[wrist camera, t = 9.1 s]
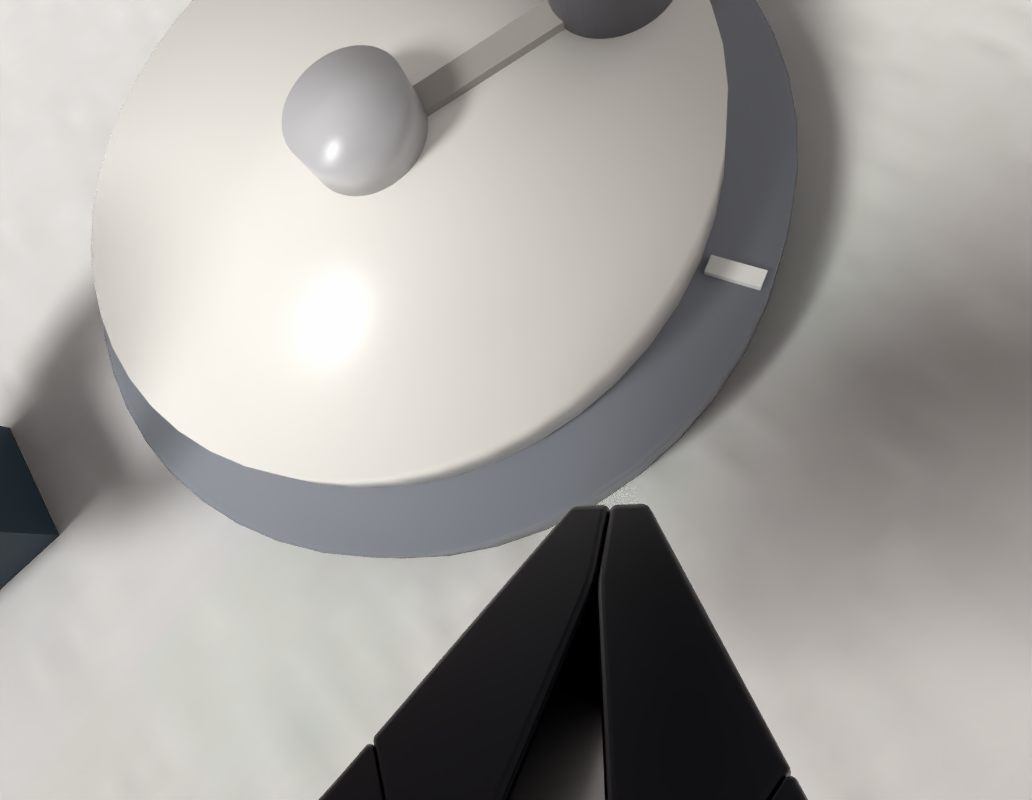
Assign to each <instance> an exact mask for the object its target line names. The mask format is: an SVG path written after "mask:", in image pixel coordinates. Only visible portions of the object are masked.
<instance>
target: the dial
mask: <svg viewBox="0 0 1032 800" xmlns="http://www.w3.org/2000/svg"><path fill="white" fill-rule="evenodd" d="M727 99H728V83H727V74H726V66H725V57H724V49H723V42H722V39H721V36H720V32H719V29H718V25H717V22H716V19H715V15H714V12H713V8H712V5H711V3H710V1H709V0H193V1H192V2H191V3H190V4H189V5H188V6H187V7H186V8H185V9H184V11H183V12H182V13H181V14H180V15H179V16H178V18H177V19H176V20H175V22H174V23H173V24H172V26H171V27H170V28H169V30H168V31H167V32H166V34H165V35H164V36H163V38H162V39H161V40H160V42H159V43H158V44H157V46H156V48H155V49H154V51H153V52H152V54H151V56H150V57H149V59H148V60H147V62H146V64H145V65H144V67H143V68H142V70H141V72H140V73H139V75H138V77H137V79H136V81H135V83H134V84H133V86H132V88H131V90H130V92H129V94H128V96H127V98H126V100H125V102H124V104H123V106H122V108H121V111H120V113H119V116H118V118H117V121H116V124H115V126H114V129H113V131H112V134H111V136H110V139H109V142H108V145H107V148H106V152H105V156H104V159H103V163H102V166H101V170H100V174H99V177H98V184H97V190H96V196H95V202H94V208H93V218H92V239H91V253H92V266H93V279H94V286H95V290H96V295H97V300H98V305H99V309H100V314H101V317H102V320H103V323H104V326H105V328H106V331H107V334H108V336H109V339H110V342H111V345H112V347H113V349H114V351H115V353H116V355H117V357H118V358H119V360H120V362H121V364H122V366H123V368H124V369H125V371H126V373H127V375H128V377H129V378H130V380H131V381H132V382H133V384H134V385H135V386H136V387H137V389H138V390H139V391H140V392H141V394H142V395H143V396H144V398H145V399H146V400H147V401H148V403H149V404H150V405H151V406H152V407H153V408H154V409H155V410H156V411H157V412H158V413H159V414H160V415H161V416H163V417H164V418H165V419H166V420H167V421H168V422H169V423H170V424H171V425H172V426H173V427H175V428H176V429H177V430H178V431H179V432H181V433H182V434H184V435H186V436H187V437H189V438H190V439H192V440H193V441H195V442H196V443H198V444H200V445H201V446H203V447H204V448H206V449H207V450H209V451H211V452H213V453H215V454H218V455H220V456H222V457H225V458H227V459H229V460H232V461H234V462H236V463H239V464H241V465H243V466H246V467H250V468H254V469H258V470H262V471H266V472H270V473H274V474H278V475H282V476H286V477H290V478H295V479H299V480H304V481H308V482H313V483H318V484H322V485H329V486H340V487H351V488H362V489H371V488H389V487H408V486H413V485H418V484H423V483H428V482H433V481H438V480H443V479H448V478H453V477H456V476H459V475H461V474H464V473H467V472H470V471H473V470H476V469H479V468H482V467H485V466H488V465H491V464H494V463H496V462H498V461H500V460H502V459H504V458H507V457H509V456H511V455H513V454H515V453H517V452H519V451H521V450H523V449H525V448H527V447H529V446H531V445H533V444H535V443H537V442H539V441H540V440H542V439H543V438H545V437H546V436H548V435H549V434H551V433H552V432H554V431H555V430H557V429H558V428H560V427H561V426H563V425H565V424H566V423H568V422H569V421H571V420H572V419H574V418H575V417H577V416H578V415H580V414H581V413H582V412H583V411H584V410H585V409H587V408H588V407H589V406H590V405H591V404H592V403H594V402H595V401H596V400H597V399H598V398H599V397H600V396H602V395H603V394H604V393H605V392H606V391H607V390H609V389H610V388H611V387H612V386H613V385H614V384H616V383H617V382H618V381H619V380H620V378H621V377H622V376H623V375H624V374H625V373H626V372H627V371H628V370H629V368H630V367H631V366H632V365H633V364H634V363H635V362H636V361H637V360H638V358H639V357H640V356H641V355H642V354H643V353H644V352H645V351H646V350H647V348H648V347H649V346H650V345H651V344H652V342H653V341H654V339H655V338H656V336H657V335H658V334H659V332H660V331H661V329H662V328H663V326H664V325H665V323H666V322H667V321H668V319H669V318H670V316H671V315H672V313H673V312H674V310H675V309H676V308H677V306H678V304H679V303H680V301H681V299H682V297H683V295H684V293H685V291H686V289H687V287H688V285H689V283H690V281H691V279H692V277H693V275H694V273H695V271H696V269H697V267H698V265H699V264H700V261H701V258H702V255H703V253H704V250H705V247H706V244H707V241H708V238H709V235H710V233H711V230H712V227H713V224H714V221H715V218H716V213H717V207H718V202H719V197H720V192H721V187H722V182H723V177H724V161H725V143H726V122H727Z"/></svg>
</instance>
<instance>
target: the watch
mask: <svg viewBox="0 0 1032 800" xmlns="http://www.w3.org/2000/svg"><path fill="white" fill-rule="evenodd" d="M58 536H59V534H58V532H57V530H56V528H55V525H54V523H53V521H52V519H51V517H50V515H49V512H48V510H47V508H46V506H45V504H44V502H43V500H42V497H41V495H40V493H39V491H38V489H37V487H36V484H35V482H34V480H33V478H32V476H31V474H30V471H29V469H28V467H27V465H26V463H25V461H24V459H23V456H22V454H21V452H20V450H19V448H18V446H17V443H16V441H15V439H14V437H13V435H12V433H11V430H10V428H7V427H2V426H0V589H1V588H2V587H3V586H4V585H5V584H6V583H7V582H8V581H10V580H11V579H12V578H13V577H14V576H15V575H16V574H17V573H18V572H19V571H20V570H22V569H23V568H24V567H25V566H26V565H27V564H28V563H29V562H30V561H31V560H32V559H34V558H35V557H36V556H37V555H38V554H39V553H40V552H41V551H42V550H43V549H44V548H46V547H47V546H48V545H49V544H50V543H51V542H52V541H53V540H54V539H55V538H56V537H58Z"/></svg>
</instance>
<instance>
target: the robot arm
mask: <svg viewBox="0 0 1032 800" xmlns="http://www.w3.org/2000/svg"><path fill="white" fill-rule="evenodd" d="M319 800H808V799H807V798H806V796H805V794H804V792H803V790H802V788H801V786H800V785H799V783H798V781H797V779H796V778H794V777H792V776H791V771H790V767H789V765H788V763H787V761H786V760H785V758H784V756H783V754H782V752H781V750H780V748H779V747H778V745H777V743H776V741H775V739H774V737H773V735H772V734H771V732H770V730H769V728H768V726H767V724H766V722H765V721H764V719H763V717H762V715H761V713H760V711H759V710H758V708H757V706H756V704H755V702H754V700H753V698H752V697H751V695H750V693H749V691H748V689H747V687H746V685H745V684H744V682H743V680H742V678H741V676H740V674H739V672H738V671H737V669H736V667H735V665H734V663H733V661H732V659H731V658H730V656H729V654H728V652H727V650H726V648H725V646H724V645H723V643H722V641H721V639H720V637H719V635H718V633H717V632H716V630H715V628H714V626H713V624H712V622H711V620H710V619H709V617H708V615H707V613H706V611H705V609H704V607H703V606H702V604H701V602H700V600H699V598H698V596H697V594H696V593H695V591H694V589H693V587H692V585H691V583H690V581H689V580H688V578H687V576H686V574H685V572H684V570H683V568H682V567H681V565H680V563H679V561H678V559H677V557H676V555H675V554H674V552H673V550H672V548H671V546H670V544H669V542H668V541H667V539H666V537H665V535H664V533H663V531H662V529H661V528H660V526H659V524H658V522H657V520H656V518H655V516H654V515H653V513H652V511H651V509H650V508H649V507H648V506H647V505H645V504H629V505H614V506H613V507H612V508H611V509H610V510H609V508H608V507H607V506H605V505H590V506H575V507H573V508H571V509H570V510H569V511H568V512H567V513H566V514H565V516H564V517H563V518H562V519H561V520H560V521H559V522H558V524H557V525H556V526H555V527H554V528H553V529H552V531H551V532H550V533H549V534H548V535H547V536H546V538H545V539H544V540H543V541H542V542H541V543H540V545H539V546H538V547H537V548H536V549H535V550H534V552H533V553H532V554H531V555H530V556H529V557H528V559H527V560H526V561H525V562H524V563H523V564H522V566H521V567H520V568H519V569H518V570H517V571H516V572H515V574H514V575H513V576H512V577H511V578H510V579H509V581H508V582H507V583H506V584H505V585H504V586H503V588H502V589H501V590H500V591H499V592H498V593H497V595H496V596H495V597H494V598H493V599H492V600H491V602H490V603H489V604H488V605H487V606H486V607H485V609H484V610H483V611H482V612H481V613H480V614H479V616H478V617H477V618H476V619H475V620H474V621H473V622H472V624H471V625H470V626H469V627H468V628H467V629H466V631H465V632H464V633H463V634H462V635H461V636H460V638H459V639H458V640H457V641H456V642H455V643H454V645H453V646H452V647H451V648H450V649H449V650H448V652H447V653H446V654H445V655H444V656H443V657H442V659H441V660H440V661H439V662H438V663H437V664H436V666H435V667H434V668H433V669H432V670H431V671H430V672H429V674H428V675H427V676H426V677H425V678H424V679H423V681H422V682H421V683H420V684H419V685H418V686H417V688H416V689H415V690H414V691H413V692H412V693H411V695H410V696H409V697H408V698H407V699H406V700H405V702H404V703H403V704H402V705H401V706H400V707H399V709H398V710H397V711H396V712H395V713H394V714H393V716H392V717H391V718H390V719H389V720H388V721H387V722H386V724H385V725H384V726H383V727H382V728H381V729H380V731H379V732H378V733H377V734H376V735H375V737H374V745H372V744H368V745H366V746H365V748H364V749H363V750H362V751H361V752H360V753H359V755H358V756H357V757H356V758H355V759H354V760H353V762H352V763H351V764H350V765H349V766H348V767H347V768H346V770H345V771H344V772H343V773H342V774H341V775H340V777H339V778H338V779H337V780H336V781H335V782H334V783H333V784H332V786H331V787H330V788H329V789H328V790H327V791H326V792H325V793H324V794H323V796H322V797H321V798H320V799H319Z"/></svg>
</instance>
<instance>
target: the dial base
mask: <svg viewBox="0 0 1032 800" xmlns="http://www.w3.org/2000/svg"><path fill="white" fill-rule="evenodd" d="M709 1H710V3H711V5H712V8H713V12H714V15H715V19H716V22H717V25H718V29H719V32H720V36H721V39H722V42H723V49H724V57H725V66H726V74H727V83H728V99H727V122H726V143H725V161H724V177H723V182H722V187H721V192H720V197H719V202H718V207H717V213H716V218H715V221H714V224H713V227H712V230H711V233H710V235H709V238H708V241H707V244H706V247H705V250H704V253H703V255H702V258H701V261H700V264H699V265H698V267H697V269H696V271H695V273H694V275H693V277H692V279H691V281H690V283H689V285H688V287H687V289H686V291H685V293H684V295H683V297H682V299H681V301H680V303H679V304H678V306H677V308H676V309H675V310H674V312H673V313H672V315H671V316H670V318H669V319H668V321H667V322H666V323H665V325H664V326H663V328H662V329H661V331H660V332H659V334H658V335H657V336H656V338H655V339H654V341H653V342H652V344H651V345H650V346H649V347H648V348H647V350H646V351H645V352H644V353H643V354H642V355H641V356H640V357H639V358H638V360H637V361H636V362H635V363H634V364H633V365H632V366H631V367H630V368H629V370H628V371H627V372H626V373H625V374H624V375H623V376H622V377H621V378H620V380H619V381H618V382H617V383H616V384H614V385H613V386H612V387H611V388H610V389H609V390H607V391H606V392H605V393H604V394H603V395H602V396H600V397H599V398H598V399H597V400H596V401H595V402H594V403H592V404H591V405H590V406H589V407H588V408H587V409H585V410H584V411H583V412H582V413H581V414H580V415H578V416H577V417H575V418H574V419H572V420H571V421H569V422H568V423H566V424H565V425H563V426H561V427H560V428H558V429H557V430H555V431H554V432H552V433H551V434H549V435H548V436H546V437H545V438H543V439H542V440H540V441H539V442H537V443H535V444H533V445H531V446H529V447H527V448H525V449H523V450H521V451H519V452H517V453H515V454H513V455H511V456H509V457H507V458H504V459H502V460H500V461H498V462H496V463H494V464H491V465H488V466H485V467H482V468H479V469H476V470H473V471H470V472H467V473H464V474H461V475H459V476H456V477H453V478H448V479H443V480H438V481H433V482H428V483H423V484H418V485H413V486H408V487H389V488H371V489H362V488H351V487H340V486H329V485H322V484H318V483H313V482H308V481H304V480H299V479H295V478H290V477H286V476H282V475H278V474H274V473H270V472H266V471H262V470H258V469H254V468H250V467H246V466H243V465H241V464H239V463H236V462H234V461H232V460H229V459H227V458H225V457H222V456H220V455H218V454H215V453H213V452H211V451H209V450H207V449H206V448H204V447H203V446H201V445H200V444H198V443H196V442H195V441H193V440H192V439H190V438H189V437H187V436H186V435H184V434H182V433H181V432H179V431H178V430H177V429H176V428H175V427H173V426H172V425H171V424H170V423H169V422H168V421H167V420H166V419H165V418H164V417H163V416H161V415H160V414H159V413H158V412H157V411H156V410H155V409H154V408H153V407H152V406H151V405H150V404H149V403H148V401H147V400H146V399H145V398H144V396H143V395H142V394H141V392H140V391H139V390H138V389H137V387H136V386H135V385H134V384H133V382H132V381H131V380H130V378H129V377H128V375H127V373H126V371H125V369H124V368H123V366H122V364H121V362H120V360H119V358H118V357H117V355H116V353H115V351H114V349H113V347H112V345H111V342H110V339H109V336H108V334H107V331H106V328H105V326H104V335H105V340H106V344H107V348H108V352H109V356H110V361H111V365H112V369H113V373H114V376H115V378H116V381H117V383H118V386H119V388H120V391H121V394H122V396H123V399H124V401H125V404H126V406H127V409H128V411H129V412H130V414H131V416H132V417H133V419H134V421H135V423H136V424H137V426H138V428H139V430H140V431H141V433H142V435H143V437H144V438H145V440H146V442H147V443H148V444H149V446H150V447H151V448H152V449H153V451H154V452H155V453H156V454H157V456H158V457H159V458H160V459H161V461H162V462H163V463H164V464H165V466H166V467H167V468H168V469H169V471H170V472H171V473H172V474H173V475H174V476H175V477H176V478H177V479H179V480H180V481H181V482H182V483H183V484H184V485H185V486H186V487H187V488H189V489H190V490H191V491H192V492H193V493H194V494H195V495H196V496H197V497H199V498H200V499H201V500H202V501H203V502H205V503H207V504H208V505H210V506H211V507H213V508H214V509H216V510H217V511H219V512H221V513H222V514H224V515H225V516H227V517H228V518H230V519H231V520H233V521H234V522H236V523H238V524H240V525H242V526H245V527H247V528H249V529H251V530H254V531H256V532H258V533H261V534H263V535H265V536H268V537H270V538H272V539H274V540H277V541H280V542H284V543H288V544H292V545H295V546H299V547H303V548H307V549H311V550H315V551H319V552H323V553H332V554H342V555H353V556H363V557H376V558H416V557H436V556H451V555H456V554H461V553H466V552H471V551H476V550H481V549H486V548H492V547H497V546H500V545H503V544H506V543H509V542H512V541H515V540H517V539H520V538H523V537H526V536H529V535H532V534H535V533H538V532H541V531H544V530H547V529H549V528H551V527H553V526H555V525H557V524H558V522H559V521H560V520H561V519H562V518H563V517H564V516H565V514H566V513H567V512H568V511H569V510H570V509H571V508H573V507H575V506H590V505H596V504H597V503H599V502H600V501H602V500H603V499H605V498H606V497H608V496H609V495H610V494H612V493H613V492H615V491H616V490H618V489H619V488H621V487H622V486H624V485H625V484H627V483H628V482H630V481H631V480H632V479H634V478H635V477H637V476H638V475H640V474H641V473H642V472H643V471H644V470H645V469H646V468H648V467H649V466H650V465H651V464H652V463H653V462H654V461H655V460H656V459H658V458H659V457H660V456H661V455H662V454H663V453H664V452H665V451H667V450H668V449H669V448H670V447H671V446H672V445H673V444H674V443H675V442H677V441H678V440H679V439H680V438H681V437H682V436H683V434H684V433H685V432H686V431H687V430H688V429H689V427H690V426H691V425H692V424H693V423H694V422H695V420H696V419H697V418H698V417H699V416H700V415H701V413H702V412H703V411H704V410H705V409H706V408H707V406H708V405H709V404H710V403H711V402H712V401H713V399H714V398H715V397H716V395H717V394H718V392H719V391H720V389H721V388H722V386H723V385H724V383H725V382H726V380H727V378H728V377H729V375H730V374H731V372H732V371H733V369H734V368H735V366H736V365H737V363H738V361H739V360H740V358H741V357H742V355H743V354H744V352H745V350H746V348H747V346H748V344H749V342H750V340H751V337H752V335H753V333H754V331H755V329H756V327H757V325H758V322H759V320H760V318H761V316H762V314H763V312H764V309H765V307H766V305H767V302H768V299H769V296H770V292H771V289H772V286H773V283H774V279H775V276H776V273H777V269H778V266H779V263H780V259H781V256H782V252H783V248H784V244H785V240H786V236H787V232H788V228H789V224H790V218H791V211H792V204H793V197H794V190H795V183H796V176H797V121H796V115H795V110H794V104H793V98H792V93H791V87H790V81H789V76H788V72H787V69H786V67H785V64H784V61H783V58H782V55H781V53H780V50H779V47H778V44H777V41H776V39H775V36H774V33H773V30H772V29H771V27H770V25H769V23H768V22H767V20H766V18H765V16H764V15H763V13H762V11H761V9H760V8H759V6H758V4H757V2H756V1H755V0H709ZM103 325H104V323H103Z"/></svg>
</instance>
